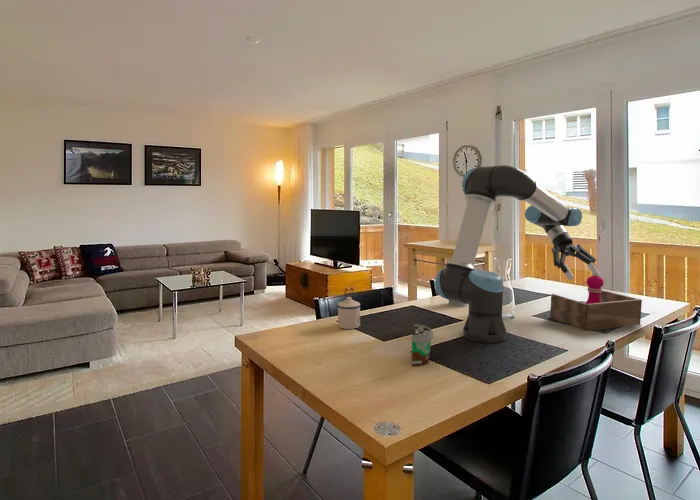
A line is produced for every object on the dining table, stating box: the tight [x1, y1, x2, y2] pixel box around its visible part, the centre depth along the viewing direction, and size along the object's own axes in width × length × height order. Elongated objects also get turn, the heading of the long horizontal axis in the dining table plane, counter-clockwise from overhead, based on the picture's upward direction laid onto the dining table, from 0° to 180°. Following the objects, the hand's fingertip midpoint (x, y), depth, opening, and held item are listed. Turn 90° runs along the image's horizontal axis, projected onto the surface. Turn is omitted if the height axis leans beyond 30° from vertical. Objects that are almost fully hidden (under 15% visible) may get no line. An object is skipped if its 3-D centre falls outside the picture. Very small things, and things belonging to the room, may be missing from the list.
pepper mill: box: [585, 272, 605, 304], centre depth 178 cm, size 7×7×20 cm
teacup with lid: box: [337, 296, 362, 330], centre depth 175 cm, size 12×9×12 cm
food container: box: [411, 323, 434, 367], centre depth 137 cm, size 12×6×10 cm, turn 168°
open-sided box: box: [549, 289, 643, 332], centre depth 178 cm, size 19×26×10 cm
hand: (584, 277), depth 183 cm, fingers open, 13 cm apart
